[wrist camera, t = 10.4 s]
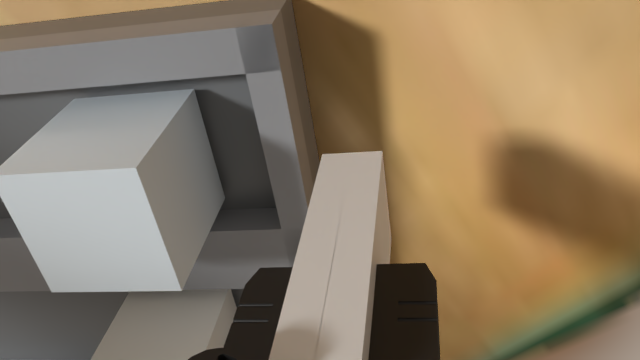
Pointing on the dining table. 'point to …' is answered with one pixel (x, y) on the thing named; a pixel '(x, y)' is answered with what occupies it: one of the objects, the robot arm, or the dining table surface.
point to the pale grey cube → (116, 193)
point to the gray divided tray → (221, 127)
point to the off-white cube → (168, 325)
